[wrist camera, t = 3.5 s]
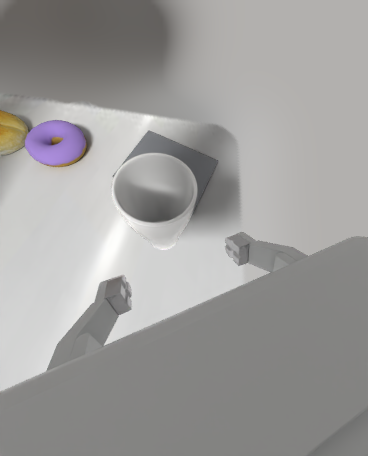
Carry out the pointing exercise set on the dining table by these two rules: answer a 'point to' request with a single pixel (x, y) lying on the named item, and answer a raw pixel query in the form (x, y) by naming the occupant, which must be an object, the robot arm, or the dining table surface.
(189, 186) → the drinking glass
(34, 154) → the donut
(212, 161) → the rubber mat
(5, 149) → the bread roll
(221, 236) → the dining table surface
